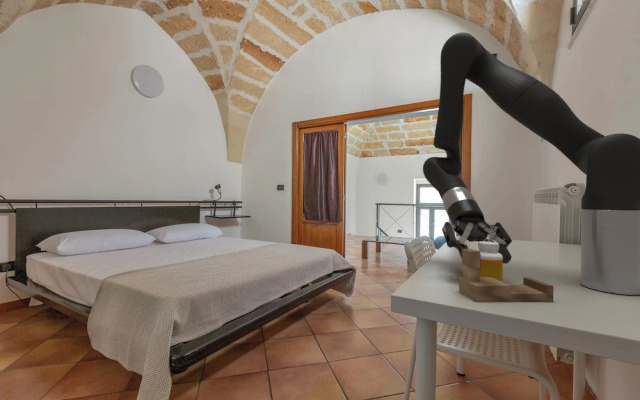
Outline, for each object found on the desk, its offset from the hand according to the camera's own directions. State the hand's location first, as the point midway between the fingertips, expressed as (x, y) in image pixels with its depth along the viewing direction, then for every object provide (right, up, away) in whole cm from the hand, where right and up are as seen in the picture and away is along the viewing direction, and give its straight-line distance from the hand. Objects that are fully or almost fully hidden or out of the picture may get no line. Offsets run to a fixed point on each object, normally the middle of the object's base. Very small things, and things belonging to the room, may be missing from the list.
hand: (488, 261), depth 61 cm
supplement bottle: (0, -6, 0) cm, 6 cm away
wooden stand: (-1, -6, -6) cm, 8 cm away
